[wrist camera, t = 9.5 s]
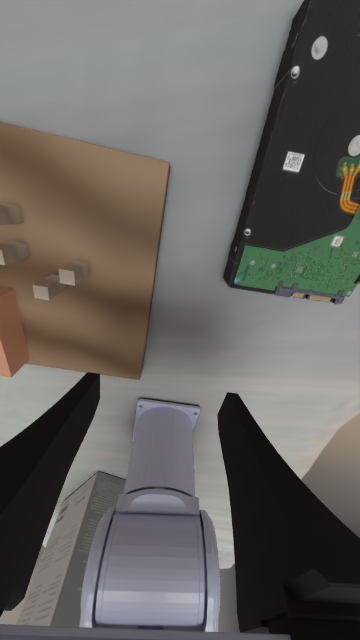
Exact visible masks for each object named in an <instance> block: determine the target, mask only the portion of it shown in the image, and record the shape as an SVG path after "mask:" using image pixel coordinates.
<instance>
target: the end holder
mask: <svg viewBox="0 0 360 640" xmlns="http://www.w3.org/2000/svg"><path fill="white" fill-rule="evenodd" d="M28 360H29V354H28V349H27V345H26V340H25V336H24V331H23V327H22V322H21V317H20V313H19V308H18V304H17V299H16V295H15V290H14V289H10V288H4V287H0V376H6V377H12V376H13V375H14V374H15V373H16V372H17V371H18V370H19V369H20V368H21V367H22V366H23V365H24V364H25V363H26V362H27V361H28Z"/></svg>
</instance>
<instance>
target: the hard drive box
mask: <svg viewBox="0 0 360 640" xmlns="http://www.w3.org/2000/svg"><path fill="white" fill-rule="evenodd" d="M125 482H126V480H123V479H120V478H117V477H115V476H112V475H108V474H105V473H103V472H97V473H96V474H95V475H94V476H93V477H91V478H90V479H89V480H88V481H87V482H86V483H85V484H84V485H82V486H81V487H80V488H79V489H78V490H77V491H75V492H74V493H73V494H72V495H71V496H69V498H67V499H66V500H65V501H64V502H63V504H62V506H61V509H60V512H59V514H58V517H57V519H56V522H55V524H54V527H53V530H52V532H51V535H50V538H49V540H48V543H47V545H46V548H45V551H44V553H43V556H42V559H41V561H40V564H39V566H38V569H37V572H36V574H35V577H34V580H33V582H32V585H31V588H30V590H29V593H28V595H27V598H26V600H25V603H24V606H23V609H22V611H21V614H20V616H19V619H18V621H17V624H16V625H33V626H61V627H79V624H80V617H81V594H82V587H83V581H84V575H85V570H86V565H87V561H88V557H89V553H90V549H91V545H92V542H93V538H94V535H95V532H96V529H97V526H98V524H99V522H100V520H101V518H102V516H103V515H104V514H105V513H106V512H107V510H108V509H109V508H110V507H116V506H117V502H118V497H119V495H120V494H123V492H124V487H125Z"/></svg>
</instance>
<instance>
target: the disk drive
mask: <svg viewBox="0 0 360 640" xmlns="http://www.w3.org/2000/svg"><path fill="white" fill-rule="evenodd" d="M224 280H225V281H226V283H227V285H228V286H229V287H230V288H235V289H242V290H248V291H255V292H261V293H267V294H274V295H277V296H284V297H291V296H292V297H296V298H302V299H304V298H306V299H310V300H317V301H323V302H333V303H334V304H342V302H343V300H344V297H349V296H350V295H351V294H352V292H353V290H354V288H355V287H356V285H357V284H359V283H360V0H304V2H303V3H302V5H301V7H300V9H299V10H298V12H297V14H296V15H295V17H294V19H293V21H292V27H291V31H290V33H289V38H288V41H287V44H286V49H285V51H284V53H283V56H282V59H281V63H280V67H279V70H278V73H277V77H276V82H275V85H274V94H273V97H272V100H271V104H270V108H269V111H268V116H267V120H266V123H265V126H264V130H263V134H262V137H261V141H260V145H259V149H258V152H257V156H256V160H255V164H254V167H253V170H252V174H251V178H250V183H249V186H248V189H247V192H246V197H245V201H244V204H243V207H242V211H241V215H240V219H239V222H238V226H237V229H236V233H235V237H234V240H233V242H232V245H231V248H230V252H229V259H228V262H227V265H226V269H225V273H224Z"/></svg>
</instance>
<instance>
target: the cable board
mask: <svg viewBox="0 0 360 640" xmlns="http://www.w3.org/2000/svg"><path fill="white" fill-rule="evenodd" d="M169 173H170V164H169V163H168V162H164V161H159V160H155V159H151V158H147V157H143V156H139V155H135V154H130V153H126V152H122V151H118V150H114V149H110V148H106V147H102V146H97V145H93V144H89V143H85V142H81V141H77V140H73V139H69V138H64V137H60V136H56V135H52V134H48V133H44V132H40V131H35V130H31V129H27V128H23V127H19V126H15V125H11V124H7V123H2V122H0V287H4V288H10V289H14V290H15V295H16V299H17V304H18V308H19V313H20V317H21V322H22V327H23V331H24V336H25V340H26V345H27V349H28V354H29V360H28V361H27V362H26V364H33V365H40V366H47V367H53V368H60V369H67V370H74V371H81V372H91V373H98V374H102V375H109V376H116V377H123V378H130V379H137V380H140V377H141V373H142V368H143V361H144V353H145V346H146V339H147V332H148V324H149V317H150V310H151V303H152V296H153V288H154V281H155V274H156V267H157V259H158V252H159V245H160V238H161V231H162V223H163V216H164V209H165V202H166V195H167V187H168V180H169Z"/></svg>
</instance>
